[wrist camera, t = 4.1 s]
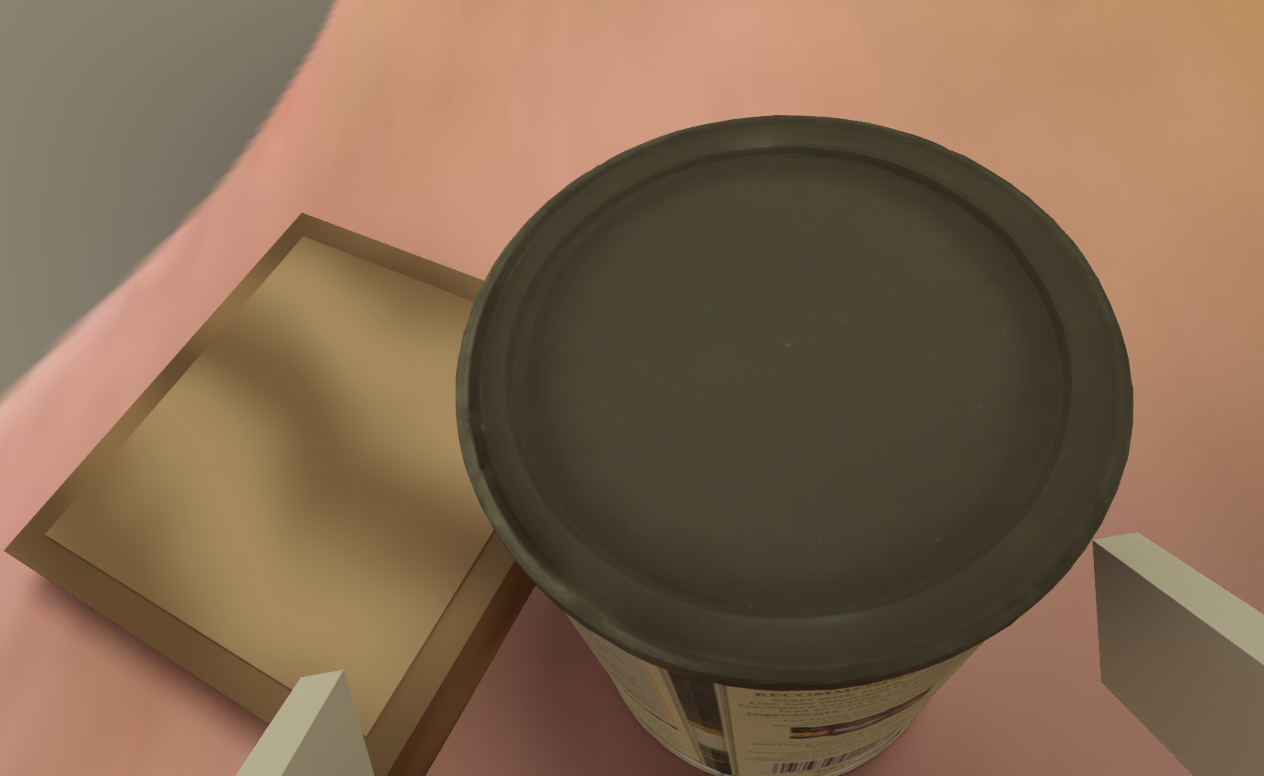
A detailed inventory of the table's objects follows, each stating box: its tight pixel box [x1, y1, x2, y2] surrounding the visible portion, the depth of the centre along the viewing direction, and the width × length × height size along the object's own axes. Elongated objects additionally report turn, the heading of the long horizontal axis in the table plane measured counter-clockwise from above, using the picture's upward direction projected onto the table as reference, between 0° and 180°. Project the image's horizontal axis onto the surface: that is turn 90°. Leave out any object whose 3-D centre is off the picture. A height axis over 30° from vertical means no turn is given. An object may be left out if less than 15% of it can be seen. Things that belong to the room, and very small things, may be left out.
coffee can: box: [456, 115, 1133, 776], centre depth 19 cm, size 10×10×14 cm
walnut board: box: [4, 213, 535, 776], centre depth 28 cm, size 15×15×3 cm
